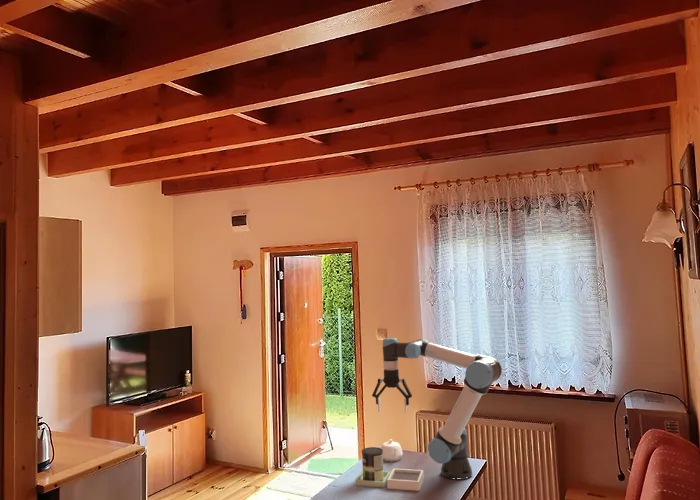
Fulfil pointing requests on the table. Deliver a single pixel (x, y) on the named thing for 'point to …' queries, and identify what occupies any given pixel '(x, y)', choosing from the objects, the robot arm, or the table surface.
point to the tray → (372, 483)
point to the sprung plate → (406, 476)
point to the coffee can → (372, 464)
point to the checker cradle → (405, 483)
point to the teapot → (391, 451)
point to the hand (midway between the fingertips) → (392, 411)
